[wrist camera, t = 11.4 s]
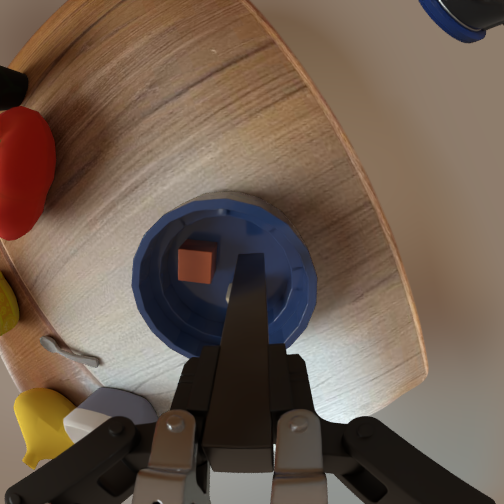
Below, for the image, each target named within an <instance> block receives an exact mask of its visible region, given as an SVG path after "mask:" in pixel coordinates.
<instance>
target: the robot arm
mask: <svg viewBox="0 0 504 504" xmlns="http://www.w3.org/2000/svg"><path fill="white" fill-rule="evenodd" d="M436 1H437V2H438V4H439V5H440V6H441V8H442V9H443V10H444V11H445V12H446V13H447V14H448V15H449V16H450V17H451V18H452V19H453V20H454V21H455V22H456V23H458V24H459V25H460V26H462V27H463V28H465V29H467V30H469V31H472V32H477V31H479V30H482V31H485V30H488V29H490V28H493V27H495V26H498V25H501V24H503V25H504V0H436ZM219 350H220V345H218V346H203V347H202V351H201V355H200V357H191V358H190V359H189V360H188V361H187V362H186V363H185V365H184V367H183V370H182V373H181V376H180V379H179V383H178V386H177V389H176V392H175V395H174V398H173V401H172V405H171V408H170V410H169V411H167V412H165V413H163V414H162V415H161V416H160V417H159V418H158V420H157V421H156V422H153V423H146V424H137V425H135V424H134V423H133V421H132V420H131V419H129V418H127V417H124V416H115V417H111V418H109V419H108V420H106V421H105V422H104V423H102V424H101V425H100V426H98V427H97V428H96V429H94V430H93V431H92V432H90V433H89V434H87V435H86V436H85V437H83V438H82V439H81V440H79V441H78V442H76V443H75V444H74V445H72V446H71V447H69V448H68V449H67V450H65V451H64V452H62V453H61V454H60V455H58V456H57V457H55V458H54V459H52V460H51V461H49V462H48V463H47V464H45V465H44V466H42V467H41V468H39V469H38V470H36V471H35V472H33V473H32V474H30V475H29V476H27V477H25V478H24V479H22V480H21V481H19V482H18V483H16V484H15V485H13V486H12V487H10V488H9V489H8V490H7V491H6V494H5V504H121V503H122V502H123V501H125V500H126V499H127V498H128V497H129V496H131V495H132V494H133V499H132V504H211V502H210V496H209V487H210V485H209V484H210V464H209V462H208V459H207V457H206V455H205V453H204V451H203V449H202V446H201V443H202V437H203V432H204V426H205V421H206V415H207V413H208V410H209V404H210V399H211V393H212V388H213V382H214V377H215V372H216V366H217V361H218V356H219ZM268 362H269V387H270V413H272V424H273V444H276V452H275V466H274V475H273V481H272V491H271V502H270V504H328V495H327V478H326V474H325V473H332V474H334V475H335V476H336V477H337V478H338V479H339V480H340V481H341V482H342V483H343V484H344V485H345V486H347V488H348V489H350V490H351V491H352V492H353V493H354V494H355V495H356V496H357V497H358V498H359V499H360V500H361V501H362V502H364V503H365V504H496V503H495V501H494V500H493V499H491V498H490V497H488V496H486V495H485V494H483V493H481V492H480V491H478V490H477V489H475V488H474V487H472V486H470V485H469V484H467V483H466V482H464V481H463V480H461V479H460V478H458V477H457V476H455V475H454V474H452V473H450V472H449V471H448V470H446V469H445V468H443V467H442V466H440V465H439V464H437V463H436V462H435V461H433V460H432V459H430V458H429V457H428V456H426V455H425V454H423V453H422V452H421V451H419V450H418V449H416V448H415V447H414V446H412V445H411V444H410V443H408V442H407V441H406V440H404V439H403V438H402V437H400V436H399V435H398V434H396V433H395V432H394V431H392V430H391V429H389V428H388V427H387V426H386V425H384V424H383V423H382V422H381V421H379V420H378V419H376V418H373V417H369V416H362V417H357V418H355V419H353V420H351V421H350V422H349V423H348V424H341V423H333V422H329V421H326V420H324V419H322V418H321V417H320V416H318V414H317V413H316V411H315V409H314V405H313V400H312V394H311V389H310V384H309V380H308V374H307V369H306V364H305V361H304V360H303V359H302V358H301V356H300V355H299V354H291V355H287V354H286V346H285V343H277V344H268Z"/></svg>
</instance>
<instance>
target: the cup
mask: <svg viewBox="0 0 504 504" xmlns="http://www.w3.org/2000/svg"><path fill="white" fill-rule="evenodd" d="M27 89H28V77H27V75H26V74H23V73H20V72H17V71H14V70H12V69H9V68H6V67H3V66H0V111H3V110H9V109H11V108H13V107H18V106H19V105H20V104H21V103H22V101H23V99H24V97H25V95H26V92H27Z"/></svg>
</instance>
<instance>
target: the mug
mask: <svg viewBox="0 0 504 504" xmlns="http://www.w3.org/2000/svg"><path fill="white" fill-rule="evenodd" d="M18 320H19V308H18V304H17V300H16V297H15V295H14V292H13V290H12V289H11V287H10V285H9V284H8V282H7V281H6V280H5V278H4V276H3V275H2V272H1V271H0V336H2V335H3V334H5V333H7V332H8V331H10V330H11V329H13V328H14V327H15V326H16V324H17V322H18Z"/></svg>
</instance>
